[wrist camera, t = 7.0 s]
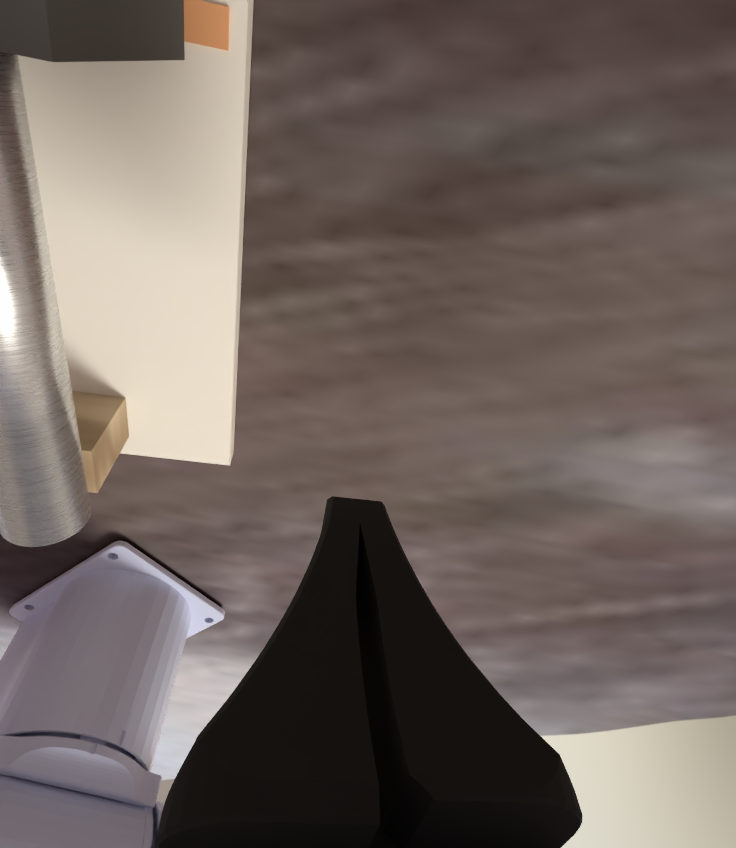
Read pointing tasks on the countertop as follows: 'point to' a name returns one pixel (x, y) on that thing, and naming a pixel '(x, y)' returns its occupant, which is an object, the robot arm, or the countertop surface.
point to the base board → (151, 226)
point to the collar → (93, 30)
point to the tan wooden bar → (100, 433)
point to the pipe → (32, 352)
